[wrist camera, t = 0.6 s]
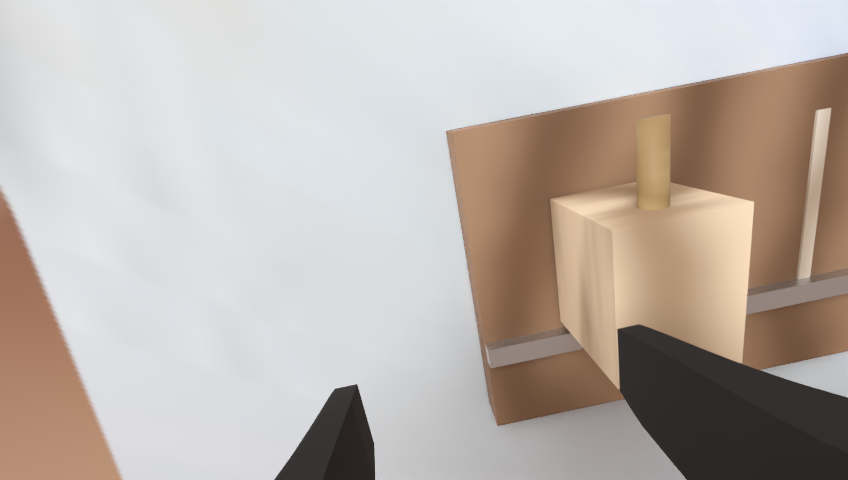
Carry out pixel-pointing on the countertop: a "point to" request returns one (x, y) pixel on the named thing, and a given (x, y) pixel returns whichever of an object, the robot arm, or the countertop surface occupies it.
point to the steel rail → (756, 302)
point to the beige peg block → (653, 258)
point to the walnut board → (689, 165)
